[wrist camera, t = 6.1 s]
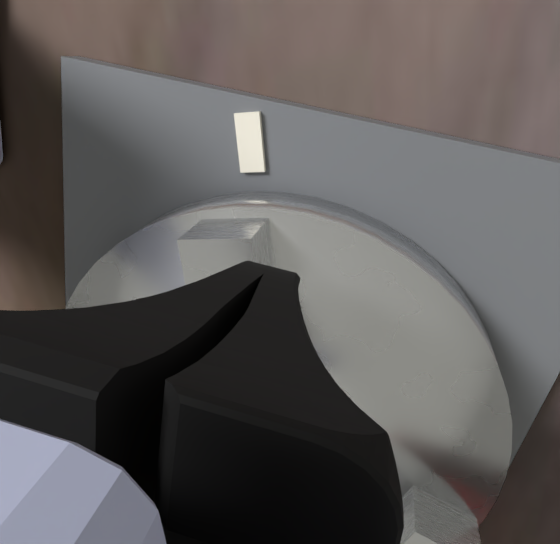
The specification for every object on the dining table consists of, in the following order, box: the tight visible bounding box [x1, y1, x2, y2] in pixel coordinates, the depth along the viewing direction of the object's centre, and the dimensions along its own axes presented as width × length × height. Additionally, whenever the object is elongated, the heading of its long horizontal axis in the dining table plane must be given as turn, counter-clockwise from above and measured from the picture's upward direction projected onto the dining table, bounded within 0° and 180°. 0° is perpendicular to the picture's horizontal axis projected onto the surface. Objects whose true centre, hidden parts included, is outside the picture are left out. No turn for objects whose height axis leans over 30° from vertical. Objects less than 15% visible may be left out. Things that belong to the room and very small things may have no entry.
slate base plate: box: [61, 56, 560, 468], centre depth 19 cm, size 18×21×1 cm
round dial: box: [65, 191, 512, 544], centre depth 17 cm, size 16×16×4 cm
